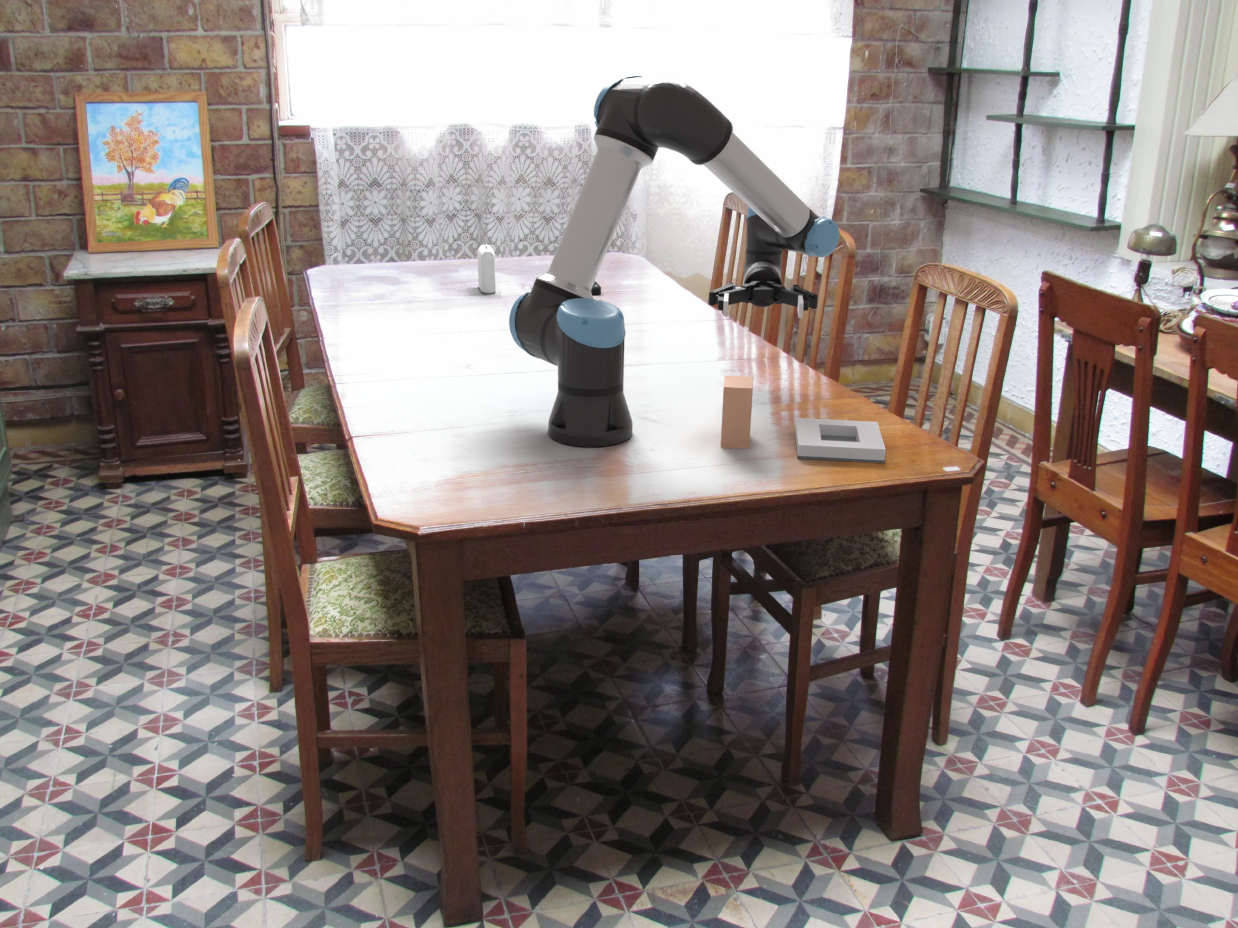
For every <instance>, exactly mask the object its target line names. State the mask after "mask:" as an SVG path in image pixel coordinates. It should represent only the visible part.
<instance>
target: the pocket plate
mask: <svg viewBox="0 0 1238 928" xmlns="http://www.w3.org/2000/svg"><path fill="white" fill-rule="evenodd" d="M794 425H795V426H794V436H795V446H796V458H797V459H799V460H815V461H816V460H818V461H837V462H854V463H855V462H857V463H871V464H872V463H873V464H875V463H876V464H885V459H886V450H887V449H886V446H885V443H884V439H883V436H882V433H881V430H880V427H879V422H878V421H867V420H866V421H864V420H848V419H847V420H846V419H845V420H844V419H826V418H821V419H820V418H806V417H805V418H804V417H795V424H794Z"/></svg>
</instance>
